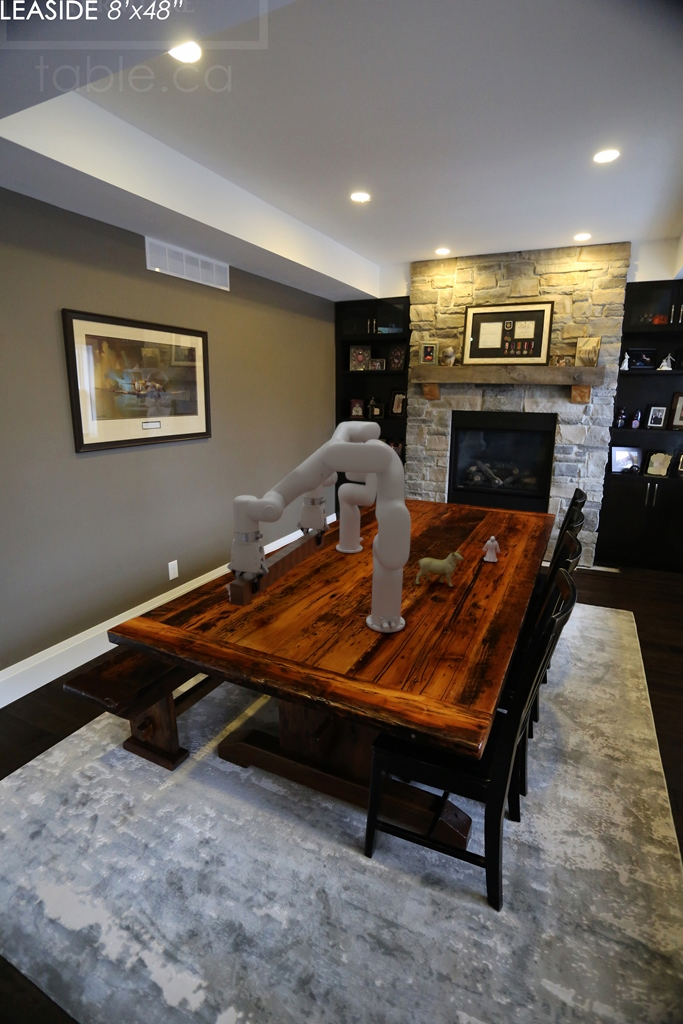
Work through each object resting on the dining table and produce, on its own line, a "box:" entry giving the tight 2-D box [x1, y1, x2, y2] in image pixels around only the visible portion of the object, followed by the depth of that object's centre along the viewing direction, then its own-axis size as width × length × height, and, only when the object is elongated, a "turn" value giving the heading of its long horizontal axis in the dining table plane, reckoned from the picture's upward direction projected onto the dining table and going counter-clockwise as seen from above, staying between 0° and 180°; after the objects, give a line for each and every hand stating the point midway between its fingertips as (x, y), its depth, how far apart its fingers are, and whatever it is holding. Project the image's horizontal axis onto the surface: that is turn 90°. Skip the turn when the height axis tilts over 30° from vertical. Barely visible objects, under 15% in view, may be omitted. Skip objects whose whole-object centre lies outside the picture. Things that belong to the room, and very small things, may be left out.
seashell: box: [224, 584, 231, 603], centre depth 178 cm, size 8×5×8 cm
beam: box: [229, 528, 326, 607], centre depth 181 cm, size 67×4×7 cm, turn 160°
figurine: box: [482, 535, 501, 563], centre depth 223 cm, size 8×8×12 cm
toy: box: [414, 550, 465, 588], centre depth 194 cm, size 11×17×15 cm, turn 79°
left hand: (313, 543), depth 206 cm, fingers closed on beam, 4 cm apart
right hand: (248, 590), depth 158 cm, fingers closed on beam, 4 cm apart
